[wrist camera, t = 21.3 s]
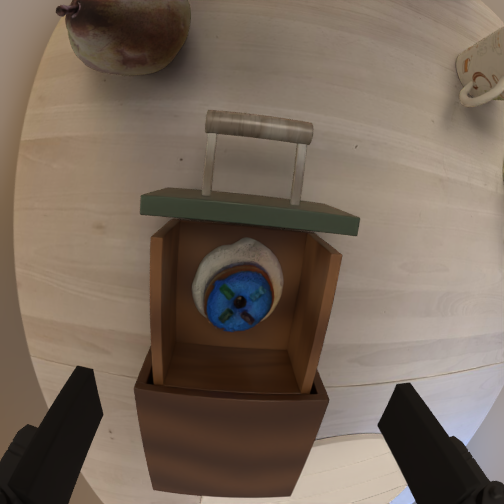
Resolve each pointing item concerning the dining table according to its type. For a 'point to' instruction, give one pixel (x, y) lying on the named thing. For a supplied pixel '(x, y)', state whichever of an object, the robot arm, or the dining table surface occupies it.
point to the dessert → (238, 285)
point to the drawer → (217, 234)
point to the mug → (482, 70)
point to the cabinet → (226, 438)
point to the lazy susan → (340, 474)
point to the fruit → (126, 33)
